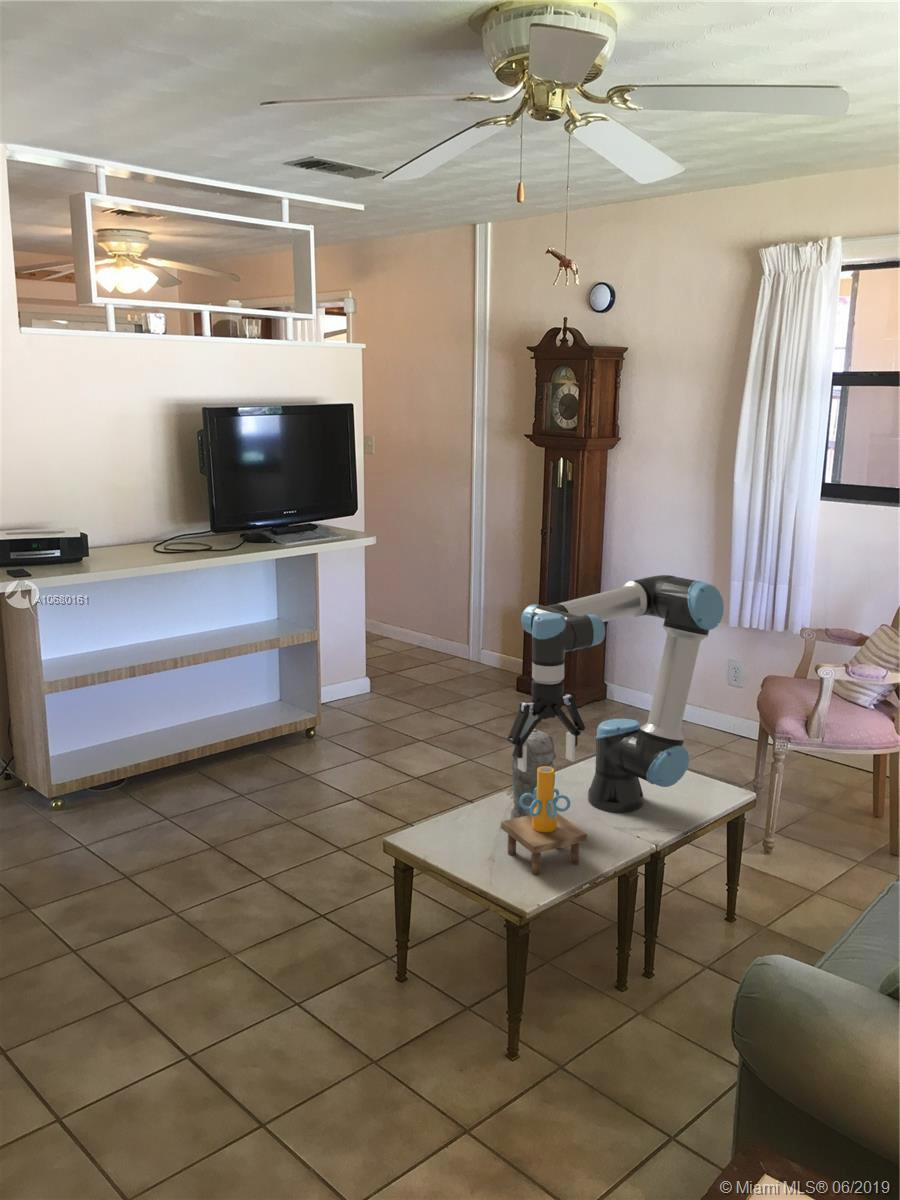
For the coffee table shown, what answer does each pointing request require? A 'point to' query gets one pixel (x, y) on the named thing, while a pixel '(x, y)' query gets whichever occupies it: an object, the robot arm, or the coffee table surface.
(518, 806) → the figurine
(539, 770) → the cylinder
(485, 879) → the coffee table surface
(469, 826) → the coffee table surface
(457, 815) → the coffee table surface
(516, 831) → the small wooden table
